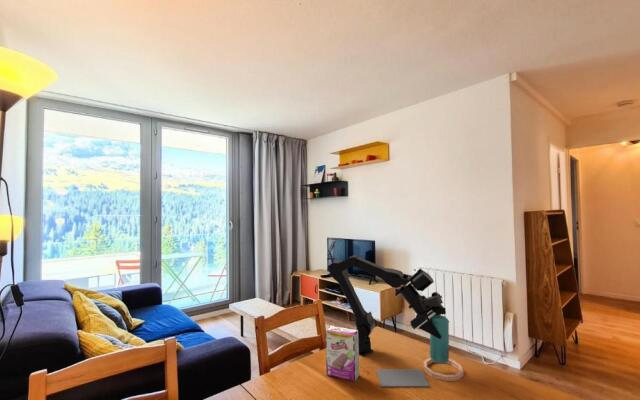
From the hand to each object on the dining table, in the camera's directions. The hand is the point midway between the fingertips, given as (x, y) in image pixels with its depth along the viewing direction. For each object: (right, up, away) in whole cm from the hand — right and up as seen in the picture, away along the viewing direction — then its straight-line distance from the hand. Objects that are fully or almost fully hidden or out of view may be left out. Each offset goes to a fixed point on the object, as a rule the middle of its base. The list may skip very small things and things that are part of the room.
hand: (443, 335), depth 109 cm
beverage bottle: (-2, -10, 0) cm, 11 cm away
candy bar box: (-37, -14, -1) cm, 39 cm away
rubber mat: (-16, -14, -4) cm, 21 cm away
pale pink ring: (0, -13, +1) cm, 13 cm away
